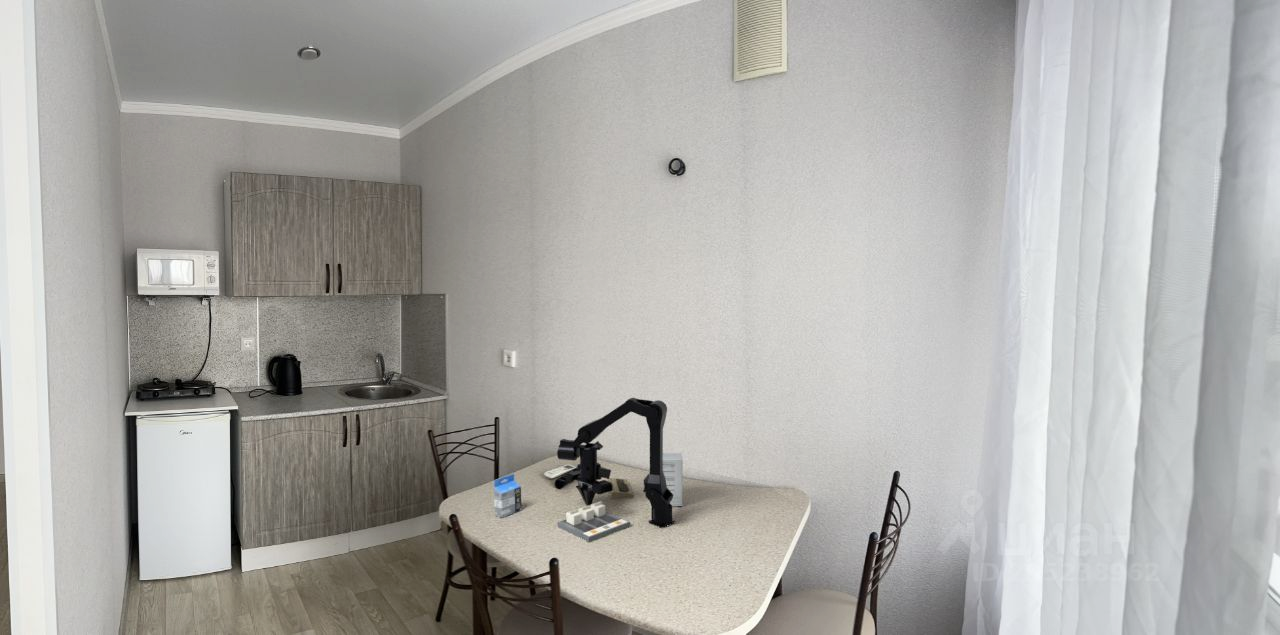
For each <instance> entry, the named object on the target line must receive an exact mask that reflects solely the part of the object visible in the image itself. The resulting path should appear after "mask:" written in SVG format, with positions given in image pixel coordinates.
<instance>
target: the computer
mask: <svg viewBox="0 0 1280 635" xmlns="http://www.w3.org/2000/svg"><path fill="white" fill-rule="evenodd" d="M607 481H608V482H611V483H612V484H613V491H610V492H608V493H609V496H610V500H621V499H633V497H634V493H633V492H632V489H631V487H630V484H629V482H628V479H627V478H616V477H615V478H613V477H609V479H607Z"/></svg>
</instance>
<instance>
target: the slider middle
mask: <svg viewBox="0 0 1280 635" xmlns="http://www.w3.org/2000/svg"><path fill="white" fill-rule="evenodd" d="M578 512H579V513H581V514H582V519H583V520H585V521H588V520H591V519H594V510H593V509H591V506H590V505H588V506H586V505H585V506H582V507H580V508H578Z"/></svg>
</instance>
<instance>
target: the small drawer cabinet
mask: <svg viewBox="0 0 1280 635" xmlns="http://www.w3.org/2000/svg"><path fill="white" fill-rule="evenodd" d="M683 460H684V459H683V457H682V453H681V452H663V473H664V476H665V479H666V485H667V488H668V489H669V490H670V492H671V493H672V494H673V495H674V496H673V498H672V501H671V502H670V504H671V505H672V506H682V507H683V485H684V484H683V483H684V482H683V480H684V479H683V478H684V477H683V476H684V475H683V472H684V471H683V467H684V466H683Z"/></svg>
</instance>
